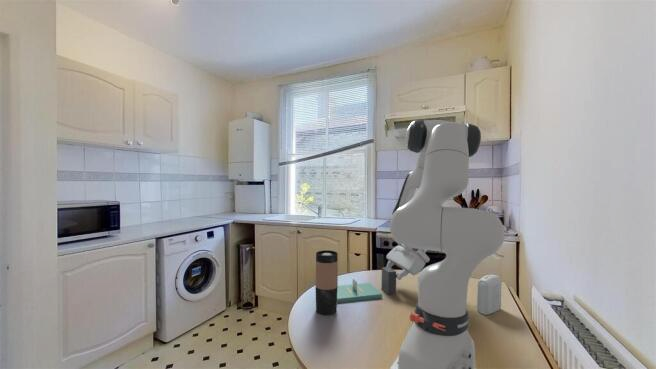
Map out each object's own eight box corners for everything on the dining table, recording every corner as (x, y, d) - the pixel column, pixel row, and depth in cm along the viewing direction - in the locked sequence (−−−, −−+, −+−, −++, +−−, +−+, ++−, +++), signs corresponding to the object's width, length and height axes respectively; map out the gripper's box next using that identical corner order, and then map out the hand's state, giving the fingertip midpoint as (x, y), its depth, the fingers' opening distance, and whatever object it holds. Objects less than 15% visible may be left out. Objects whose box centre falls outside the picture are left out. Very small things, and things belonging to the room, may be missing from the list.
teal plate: (382, 297, 109) (382, 283, 109) (337, 302, 104) (337, 288, 104) (369, 286, 120) (369, 273, 120) (328, 290, 116) (329, 277, 116)
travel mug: (341, 308, 99) (341, 252, 99) (329, 317, 93) (330, 257, 92) (323, 303, 103) (323, 249, 103) (310, 311, 97) (311, 253, 96)
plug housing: (395, 293, 113) (396, 271, 113) (388, 294, 112) (388, 272, 112) (388, 288, 118) (389, 266, 118) (381, 289, 118) (381, 267, 117)
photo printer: (490, 304, 104) (491, 271, 104) (502, 309, 100) (503, 274, 100) (475, 311, 98) (475, 276, 98) (487, 316, 94) (488, 280, 94)
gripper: (396, 239, 127) (375, 262, 125) (422, 250, 107) (399, 277, 105) (404, 248, 128) (384, 271, 126) (432, 261, 109) (409, 288, 106)
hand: (391, 274), depth 115 cm, fingers open, 8 cm apart
